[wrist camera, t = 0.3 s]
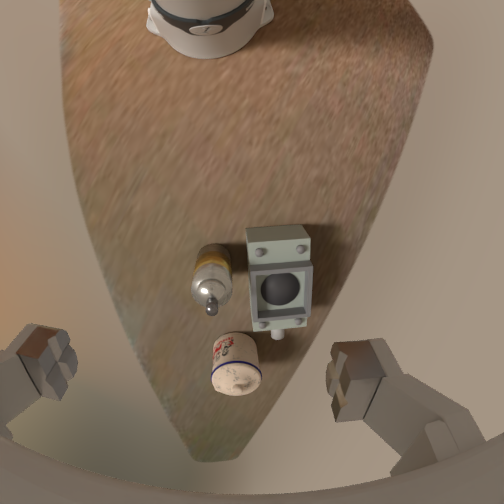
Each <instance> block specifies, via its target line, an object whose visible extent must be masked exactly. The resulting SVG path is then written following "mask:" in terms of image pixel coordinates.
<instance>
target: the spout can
mask: <svg viewBox="0 0 504 504" xmlns="http://www.w3.org/2000/svg"><path fill="white" fill-rule="evenodd" d="M191 293H192V296H193V298H194V299H195V301H196V302H197V303H199V304H200V305H202V306H204V307H206V313H207V314H208V315H210V316H215V315H216V314H217V313H218V307H220V306H223V305H224V304H226V303H227V302H228V301H229V300H230V298H231V295H232V266H231V255H230V253H229V251H228V250H227V249H226V248H225V247H224V246H222V245H219V244H208V245H206V246H204V247H203V248H202V249H201V250H200V251H199V253H198V256H197V261H196V265H195V270H194V275H193V282H192V287H191Z"/></svg>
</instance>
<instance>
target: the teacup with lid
mask: <svg viewBox="0 0 504 504" xmlns="http://www.w3.org/2000/svg"><path fill="white" fill-rule="evenodd" d="M261 380H262V374H261V371H260V368H259V361H258V354H257V346H256V343H255V341H254V340H253V339H252V338H251V337H250V336H248V335H246V334H243V333H237V332H233V333H227V334H225V335H222V336H221V337H219V338H218V339H217V340H216V342H215V343H214V346H213V372H212V374H211V381H212V383H213V385H214V387H215V390H216V391H218V392H222V393H224V394H227V395H234V396H238V395H245V394H248V393H250V392H252V391H254V390H255V389H256V388H257V387H258V386H259V385H260V383H261Z"/></svg>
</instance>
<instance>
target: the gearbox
mask: <svg viewBox="0 0 504 504" xmlns="http://www.w3.org/2000/svg"><path fill="white" fill-rule="evenodd" d="M310 239H311V238H310V237H309V235H308V234H307V232H306V231H305V229H304V228H303V226H302V225H301V224H300V225H285V226H270V227H256V228H246V244H247V260H248V275H249V291H250V307H251V317H252V324H253V332H256V331H266V330H271V337H272V338H273V339H275V340H280V339H282V338H284V329H286V328H295V327H303V326H306V324H307V317H310V314H311V299H312V281H313V265H312V263H311V261H310Z"/></svg>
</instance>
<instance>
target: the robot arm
mask: <svg viewBox="0 0 504 504" xmlns="http://www.w3.org/2000/svg"><path fill="white" fill-rule="evenodd" d="M149 1H151V7H150V8H149V9H148V14H149V15H148V19H147V24H146V26H147V29H148V30H149V31H150V32H151V33H153V34H156V35H158V36H161V37H163V38H164V39H165V40H166V41H167V42H168V43H169V44H170V45H171V46H172V47H173V48H174V49H175V50H177V51H178V52H180V53H182V54H184V55H186V56H189V57H193V58H199V59H213V58H219V57H223V56H226V55H229V54H231V53H234V52H235V51H237V50H239V49H240V48H242V47H243V46H244V45H245V44H247V43H248V42H249V40H250V39H251V38H252V37H253V35H254V34H255V32H256V31H257V30H258V29H259V28H261V27H262V26H264V25H266V24H268V23H269V22H271V21H272V20H273V18H274V11H273V8H272V5H271V2H270V0H149ZM265 8H266V9H267V10H265ZM69 343H70V338H69V335H68V333H67V332H66V331H65V330H63V329H59V328H53V327H48V326H43V325H37V324H33V323H31V324H27V325H26V326H25V327H24V329H23V330H22V331H21V332H20V333H19V334H18V335H17V337H16V338H15V339H14V340H13V341H12V342H11V344H10V345H9V346H8V347H7V348H6V350H5V351H4V350H1V351H0V504H504V433H502V434H500V435H498V436H496V437H494V438H492V439H490V440H488V441H485V439H484V437H483V435H482V433H481V431H480V430H479V428H478V426H477V424H476V422H475V421H474V419H473V417H472V415H471V414H470V412H469V410H468V409H466V408H465V407H463V406H461V405H459V404H458V403H456V402H454V401H453V400H451V399H449V398H448V397H446V396H444V395H443V394H441V393H439V392H438V391H436V390H434V389H433V388H431V387H429V386H428V385H426V384H424V383H423V382H421V381H419V380H418V379H416V378H415V377H413V376H411V375H409V374H403V372H402V370H401V368H400V366H399V364H398V363H397V361H396V359H395V357H394V355H393V354H392V352H391V350H390V348H389V346H388V345H387V343H386V341H385V340H384V339H383V338H377V339H368V340H360V341H347V342H334V344H333V345H332V349H331V356H332V361H331V362H329V363H328V365H327V370H326V386H327V391H328V393H329V395H330V396H332V397H333V401H332V404H331V407H332V411H333V414H334V418H335V422H346V421H355V420H363V419H364V420H363V421H364V422H365V423H366V424H367V425H368V426H369V427H370V428H371V429H372V430H374V432H376V433H377V434H378V435H379V436H380V437H381V438H382V439H383V440H384V441H385V442H386V443H387V444H388V445H390V446H391V447H392V448H393V449H394V450H395V451H396V452H397V453H398V454H399V455H400V456H402V457H401V459H400V460H399V461H398V462H397V464H396V465H395V466H394V467H393V468H392V470H391V471H390V474H391V477H388V478H384V479H379V480H375V481H371V482H366V483H361V484H356V485H351V486H345V487H339V488H332V489H325V490H317V491H308V492H299V493H284V494H258V495H256V494H255V495H245V494H241V495H240V494H216V493H202V492H192V491H182V490H175V489H168V488H160V487H155V486H149V485H144V484H139V483H134V482H130V481H125V480H121V479H117V478H112V477H109V476H105V475H101V474H98V473H94V472H91V471H88V470H85V469H81V468H78V467H75V466H72V465H69V464H67V463H64V462H61V461H58V460H56V459H53V458H50V457H48V456H45V455H43V454H40V453H38V452H36V451H33V450H31V449H29V448H27V447H25V446H22V445H20V444H18V443H16V442H14V441H12V438H13V435H12V433H11V431H10V430H9V429H8V428H7V427H6V424H7V423H9V422H10V421H11V420H12V419H14V418H15V417H16V416H18V415H19V414H20V413H22V411H24V410H25V409H27V408H28V407H29V406H30V405H32V404H33V403H34V402H35V401H37V400H38V399H39V398H40V397H41V396H43V397H46V398H50V399H54V400H57V401H61V399H62V397H63V395H64V394H65V392H66V390H67V388H68V385H67V381H69V380H70V379H72V378H73V377H74V375H75V373H76V371H77V365H78V361H77V356H76V353H75V351H74V349H72V347H71V346H70V345H69Z"/></svg>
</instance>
